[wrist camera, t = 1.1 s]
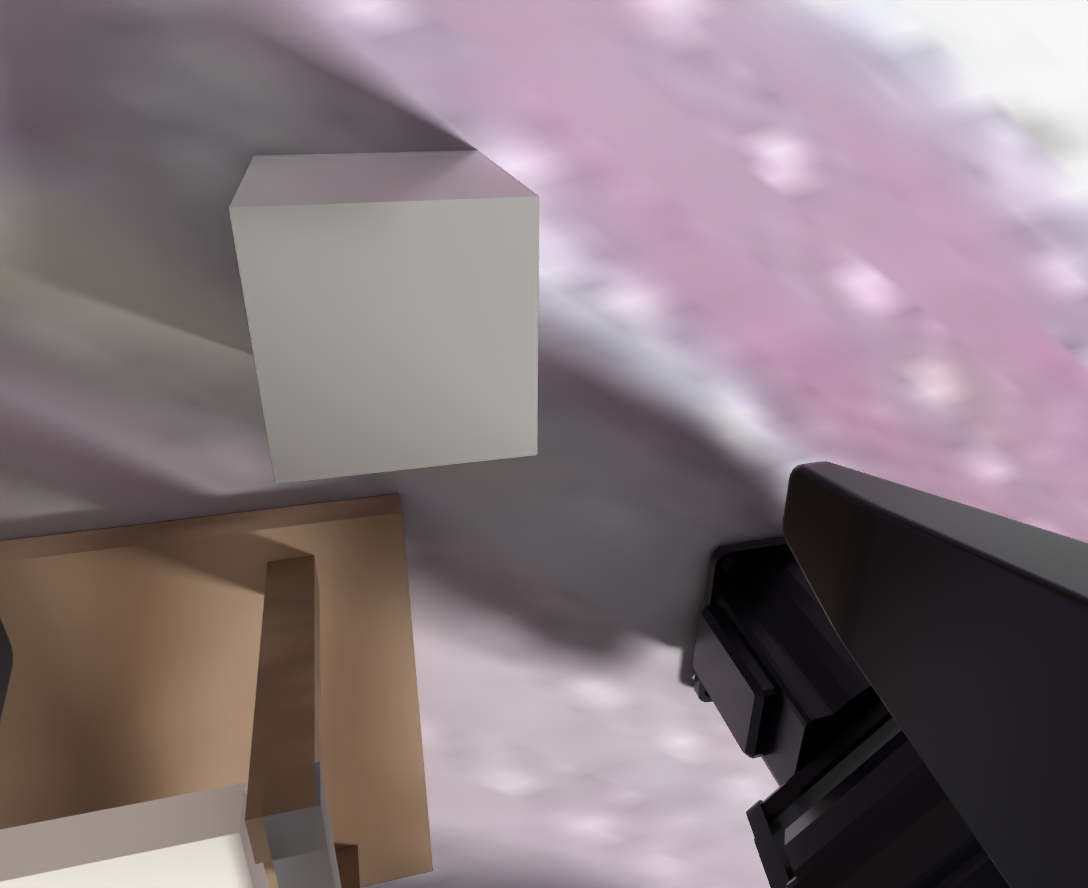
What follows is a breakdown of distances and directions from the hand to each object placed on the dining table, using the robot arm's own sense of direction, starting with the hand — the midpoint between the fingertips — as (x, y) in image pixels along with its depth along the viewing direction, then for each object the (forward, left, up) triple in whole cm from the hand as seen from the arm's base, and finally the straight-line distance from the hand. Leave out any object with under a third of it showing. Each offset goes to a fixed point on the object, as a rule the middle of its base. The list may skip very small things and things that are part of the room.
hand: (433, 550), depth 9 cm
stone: (0, 0, -12) cm, 12 cm away
